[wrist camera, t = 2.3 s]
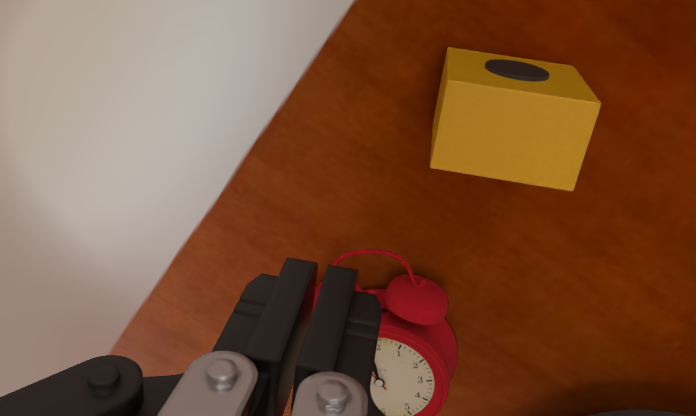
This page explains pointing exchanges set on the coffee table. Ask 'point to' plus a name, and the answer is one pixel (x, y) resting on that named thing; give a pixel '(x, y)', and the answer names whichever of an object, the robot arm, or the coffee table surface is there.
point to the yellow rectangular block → (512, 119)
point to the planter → (638, 413)
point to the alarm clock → (410, 344)
